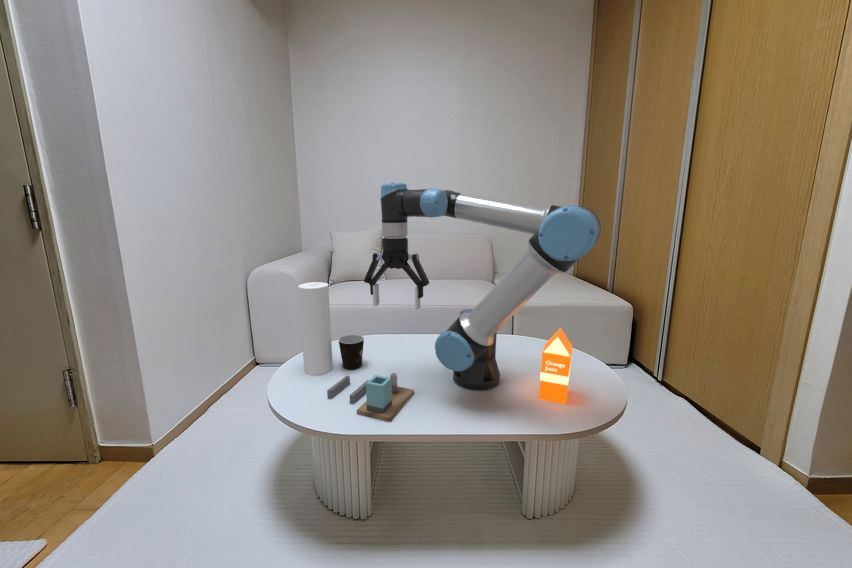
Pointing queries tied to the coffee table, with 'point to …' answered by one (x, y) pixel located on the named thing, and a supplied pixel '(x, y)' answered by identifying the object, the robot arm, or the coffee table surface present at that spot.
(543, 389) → the orange juice
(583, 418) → the coffee table surface
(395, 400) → the pin board
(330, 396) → the feeder rails
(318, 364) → the cylinder container
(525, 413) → the coffee table surface
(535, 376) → the coffee table surface
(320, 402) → the coffee table surface
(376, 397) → the sleeve
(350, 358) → the coffee mug
